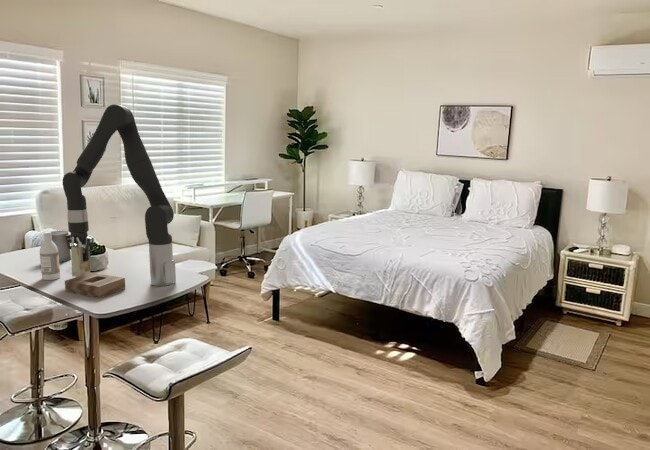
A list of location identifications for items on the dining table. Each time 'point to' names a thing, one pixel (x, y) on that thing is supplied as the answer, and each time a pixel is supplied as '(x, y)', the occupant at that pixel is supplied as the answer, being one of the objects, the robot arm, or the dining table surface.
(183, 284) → the dining table surface
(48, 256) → the bath foam
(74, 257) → the skincare box
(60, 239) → the pillar candle
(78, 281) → the walnut holder block
